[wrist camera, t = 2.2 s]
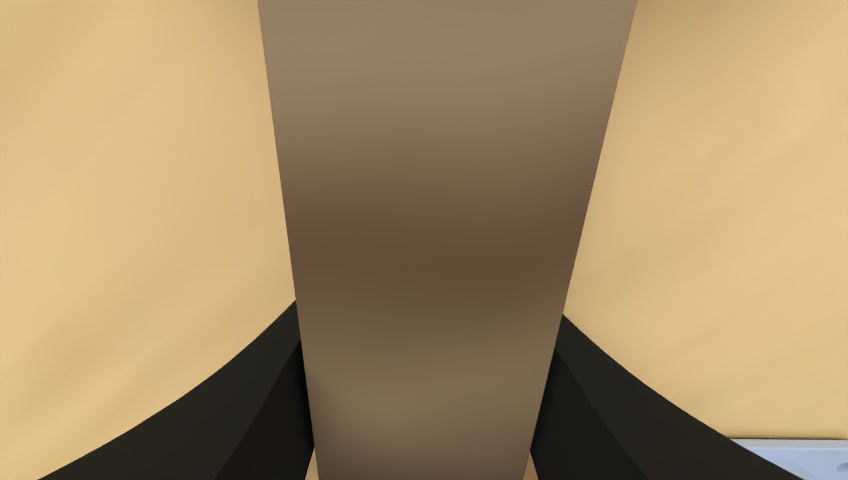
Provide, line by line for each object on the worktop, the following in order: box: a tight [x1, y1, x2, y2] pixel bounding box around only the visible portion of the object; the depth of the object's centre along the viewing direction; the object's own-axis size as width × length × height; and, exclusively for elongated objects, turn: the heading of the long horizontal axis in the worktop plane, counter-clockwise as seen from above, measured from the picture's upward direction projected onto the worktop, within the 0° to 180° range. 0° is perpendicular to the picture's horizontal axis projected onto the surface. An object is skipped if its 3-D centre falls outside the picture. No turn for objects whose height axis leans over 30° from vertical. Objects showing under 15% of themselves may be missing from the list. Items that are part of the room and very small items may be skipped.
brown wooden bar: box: [258, 0, 637, 480], centre depth 9 cm, size 14×4×4 cm, turn 178°
